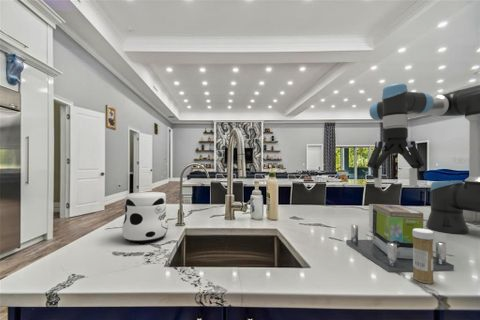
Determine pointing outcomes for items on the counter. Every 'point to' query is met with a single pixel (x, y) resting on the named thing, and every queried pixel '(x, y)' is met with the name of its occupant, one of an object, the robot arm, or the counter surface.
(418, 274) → the sprinkles bottle
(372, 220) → the mug
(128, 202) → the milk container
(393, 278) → the counter surface
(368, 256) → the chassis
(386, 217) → the tea box
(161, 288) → the counter surface
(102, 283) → the counter surface
